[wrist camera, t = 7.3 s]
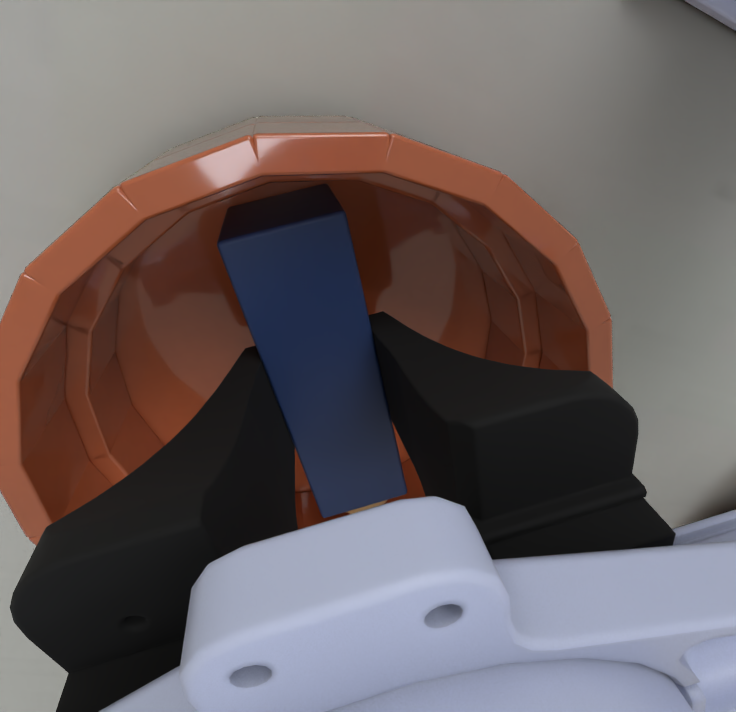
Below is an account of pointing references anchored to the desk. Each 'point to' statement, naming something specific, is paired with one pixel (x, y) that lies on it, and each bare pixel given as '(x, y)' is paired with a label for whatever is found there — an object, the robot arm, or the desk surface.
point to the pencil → (315, 343)
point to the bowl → (223, 312)
